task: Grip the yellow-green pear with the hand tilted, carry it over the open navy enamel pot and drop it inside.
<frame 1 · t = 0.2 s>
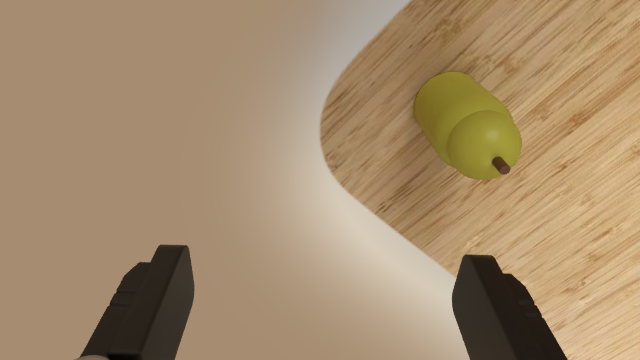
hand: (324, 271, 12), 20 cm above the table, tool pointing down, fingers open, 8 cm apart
pear: (447, 104, 31), on the table
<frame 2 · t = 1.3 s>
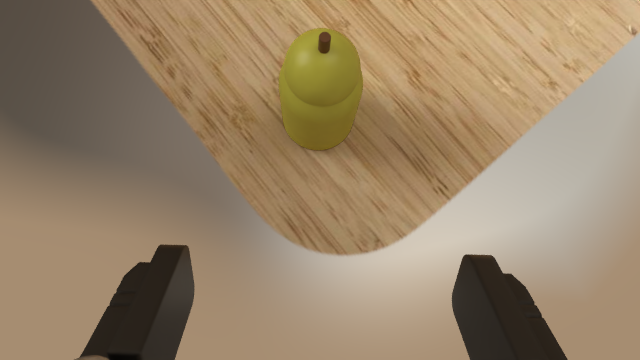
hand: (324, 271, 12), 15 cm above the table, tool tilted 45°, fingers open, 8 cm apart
pear: (318, 116, 30), on the table
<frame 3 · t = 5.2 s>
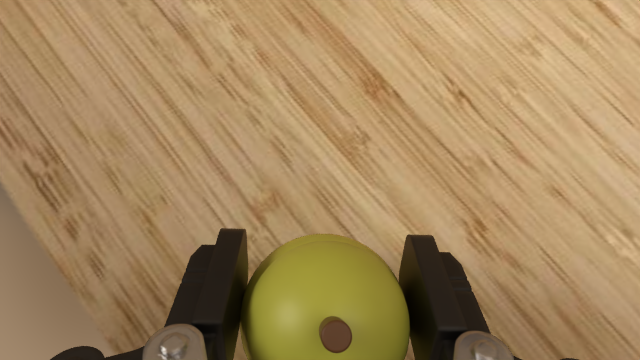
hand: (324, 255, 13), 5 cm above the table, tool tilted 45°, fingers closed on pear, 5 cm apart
pear: (317, 307, 18), on the table, touching gripper
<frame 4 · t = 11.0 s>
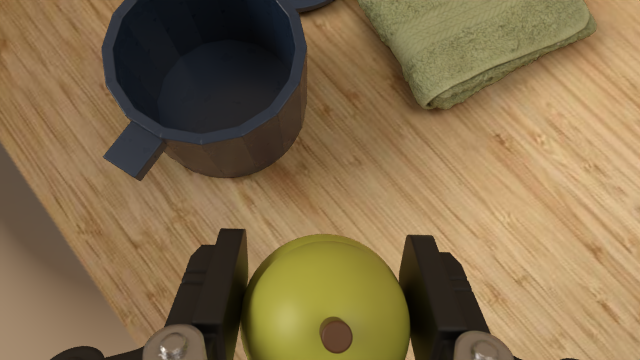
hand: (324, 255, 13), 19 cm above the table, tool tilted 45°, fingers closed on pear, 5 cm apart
washcloth: (469, 20, 37), on the table
pot: (229, 104, 34), on the table
pear: (317, 307, 18), point 14 cm above the table, touching gripper
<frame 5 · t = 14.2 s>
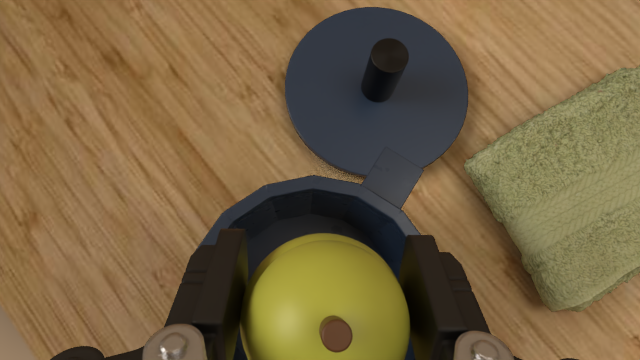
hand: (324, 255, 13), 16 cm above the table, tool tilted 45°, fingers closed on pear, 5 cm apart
washcloth: (592, 182, 31), on the table
lid: (376, 91, 31), point 1 cm above the table
pot: (311, 298, 28), on the table
pear: (317, 307, 18), point 11 cm above the table, touching gripper
when the fingers open (9 cm above the table, at t = 16.8 s): pear drops 3 cm, resting on pot.
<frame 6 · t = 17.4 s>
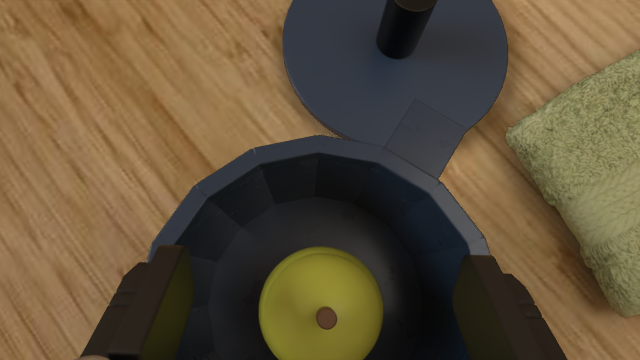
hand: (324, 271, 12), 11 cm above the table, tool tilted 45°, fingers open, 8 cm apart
lid: (394, 46, 25), point 1 cm above the table
pot: (316, 301, 22), on the table
pear: (317, 303, 22), point 1 cm above the table, touching pot
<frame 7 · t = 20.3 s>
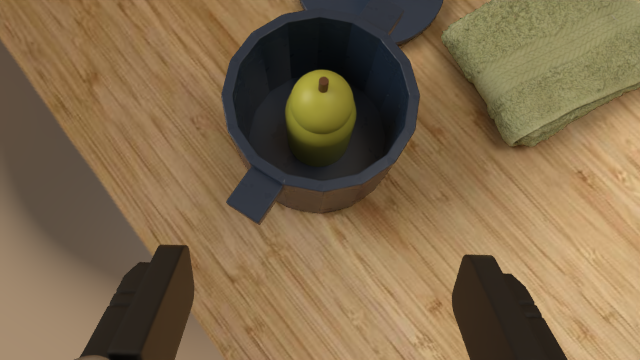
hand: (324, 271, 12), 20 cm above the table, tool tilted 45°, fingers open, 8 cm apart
washcloth: (547, 56, 38), on the table
pot: (317, 139, 35), on the table
pear: (318, 137, 35), resting on pot
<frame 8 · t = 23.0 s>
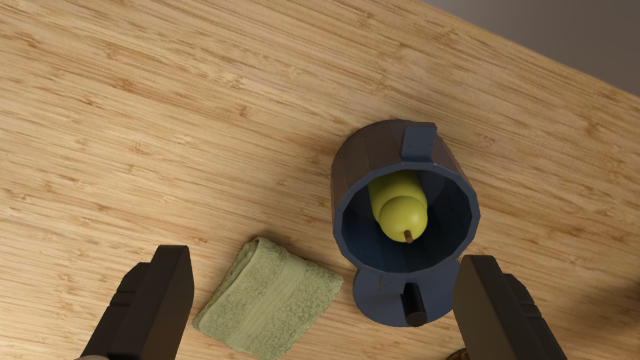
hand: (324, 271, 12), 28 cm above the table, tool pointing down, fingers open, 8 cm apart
washcloth: (267, 295, 53), on the table
lid: (408, 285, 51), point 1 cm above the table
pot: (390, 175, 43), on the table
pear: (390, 177, 43), resting on pot
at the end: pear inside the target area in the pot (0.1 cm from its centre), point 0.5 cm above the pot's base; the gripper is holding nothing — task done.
